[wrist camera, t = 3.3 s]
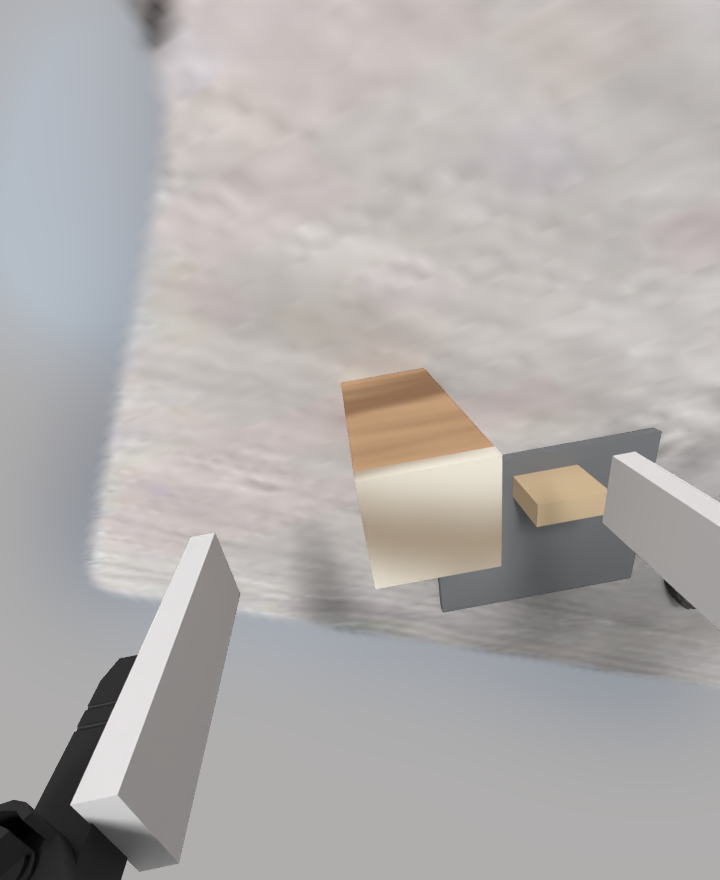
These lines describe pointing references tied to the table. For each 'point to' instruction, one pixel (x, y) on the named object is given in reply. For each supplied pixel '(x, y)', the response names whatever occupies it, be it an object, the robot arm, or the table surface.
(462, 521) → the teak block
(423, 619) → the table surface
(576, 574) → the board
